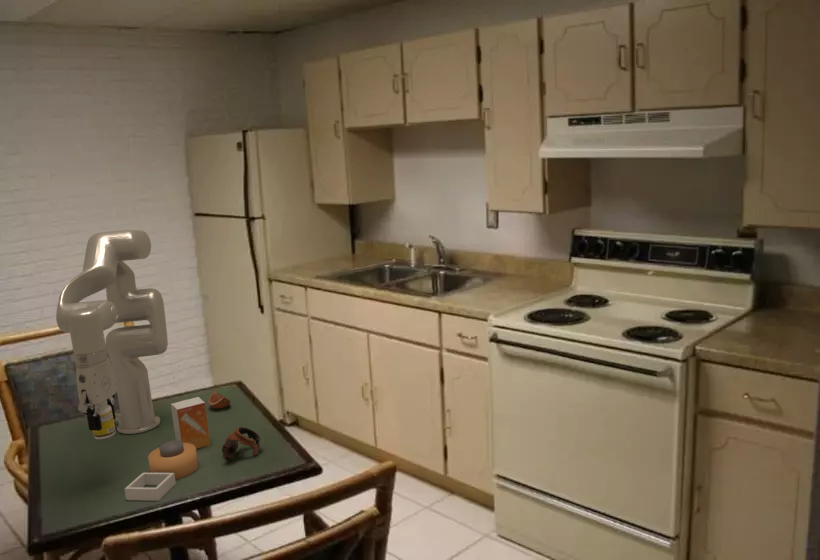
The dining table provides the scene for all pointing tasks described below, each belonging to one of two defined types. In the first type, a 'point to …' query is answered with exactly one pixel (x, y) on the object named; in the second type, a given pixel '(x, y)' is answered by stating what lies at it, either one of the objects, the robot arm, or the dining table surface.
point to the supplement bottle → (105, 422)
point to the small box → (191, 422)
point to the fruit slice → (218, 400)
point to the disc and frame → (163, 470)
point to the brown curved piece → (236, 436)
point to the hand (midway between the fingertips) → (102, 424)
